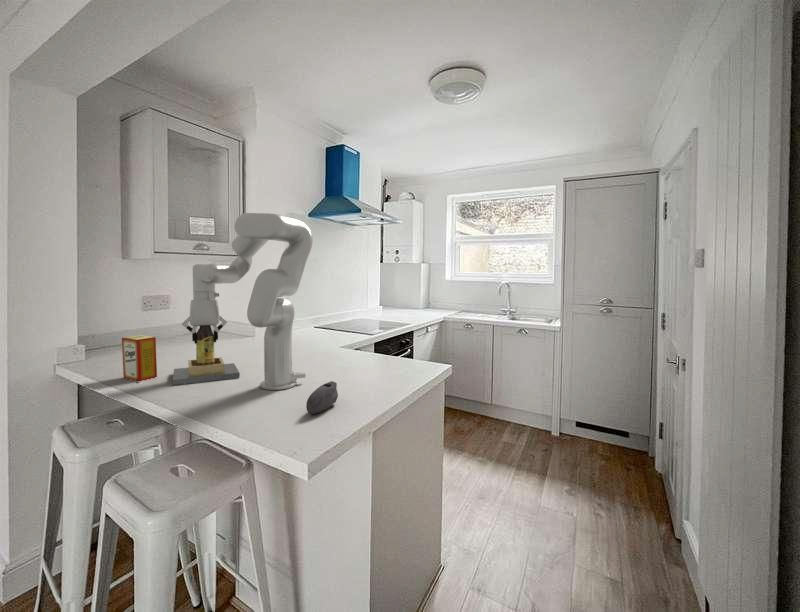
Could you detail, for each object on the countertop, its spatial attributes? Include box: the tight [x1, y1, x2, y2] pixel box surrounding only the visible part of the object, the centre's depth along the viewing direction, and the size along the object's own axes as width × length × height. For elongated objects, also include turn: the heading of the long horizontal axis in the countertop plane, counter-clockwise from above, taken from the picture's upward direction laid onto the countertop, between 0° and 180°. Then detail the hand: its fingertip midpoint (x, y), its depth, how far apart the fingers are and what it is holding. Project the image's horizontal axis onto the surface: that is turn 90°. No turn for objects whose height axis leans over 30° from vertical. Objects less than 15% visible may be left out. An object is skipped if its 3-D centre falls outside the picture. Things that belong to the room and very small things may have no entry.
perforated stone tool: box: [306, 380, 339, 415], centre depth 112 cm, size 15×5×7 cm, turn 159°
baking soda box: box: [121, 334, 158, 382], centre depth 142 cm, size 10×6×16 cm
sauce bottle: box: [195, 325, 215, 366], centre depth 146 cm, size 6×6×20 cm
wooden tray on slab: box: [172, 356, 240, 386], centre depth 147 cm, size 22×18×6 cm
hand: (205, 341), depth 146 cm, fingers closed on sauce bottle, 6 cm apart
